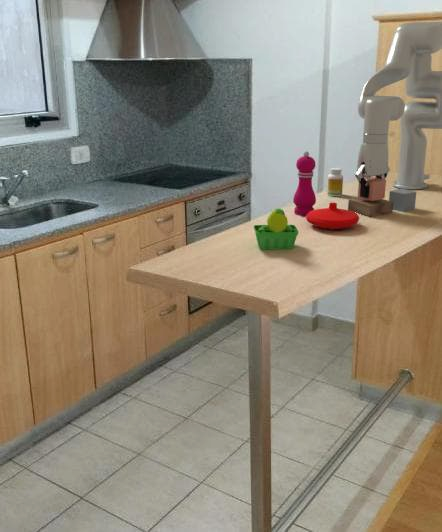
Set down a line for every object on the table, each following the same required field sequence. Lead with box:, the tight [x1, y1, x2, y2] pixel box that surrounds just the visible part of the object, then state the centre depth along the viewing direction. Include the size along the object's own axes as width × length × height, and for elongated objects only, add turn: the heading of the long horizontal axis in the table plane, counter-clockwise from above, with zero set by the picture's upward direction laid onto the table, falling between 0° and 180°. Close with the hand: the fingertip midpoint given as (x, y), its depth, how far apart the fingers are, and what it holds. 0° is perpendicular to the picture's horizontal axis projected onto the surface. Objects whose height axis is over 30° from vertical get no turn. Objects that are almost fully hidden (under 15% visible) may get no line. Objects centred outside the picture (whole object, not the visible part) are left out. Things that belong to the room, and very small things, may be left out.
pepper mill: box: [292, 151, 317, 217], centre depth 191 cm, size 7×7×20 cm
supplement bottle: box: [326, 167, 344, 197], centre depth 217 cm, size 5×5×10 cm
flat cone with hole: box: [305, 202, 360, 230], centre depth 179 cm, size 16×16×7 cm
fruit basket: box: [252, 207, 299, 250], centre depth 159 cm, size 11×9×11 cm
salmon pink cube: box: [357, 176, 387, 201], centre depth 193 cm, size 6×6×6 cm
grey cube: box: [388, 188, 417, 213], centre depth 198 cm, size 6×6×6 cm
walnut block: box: [347, 197, 394, 218], centre depth 195 cm, size 10×10×4 cm
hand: (371, 195), depth 194 cm, fingers closed on salmon pink cube, 6 cm apart
